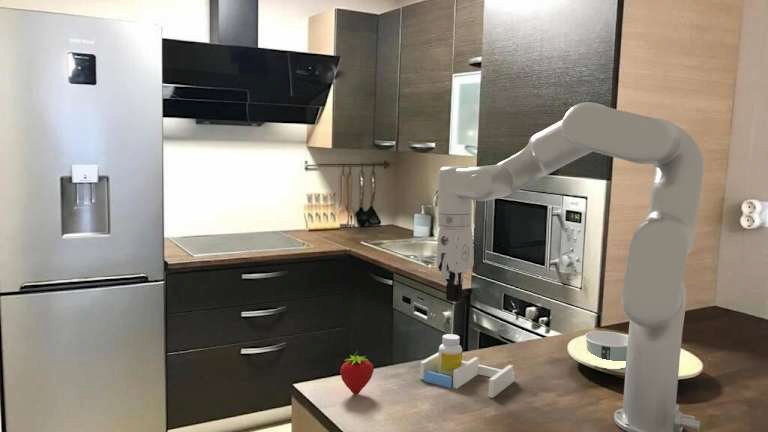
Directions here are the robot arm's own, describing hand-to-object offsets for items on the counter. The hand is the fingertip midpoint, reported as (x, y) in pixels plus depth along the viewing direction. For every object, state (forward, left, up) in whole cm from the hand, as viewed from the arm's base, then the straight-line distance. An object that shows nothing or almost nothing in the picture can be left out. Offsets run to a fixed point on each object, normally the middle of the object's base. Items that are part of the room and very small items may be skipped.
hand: (454, 300), depth 148 cm
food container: (-27, -33, -19) cm, 46 cm away
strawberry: (+12, +21, -19) cm, 31 cm away
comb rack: (-4, 0, -19) cm, 19 cm away
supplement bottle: (0, 0, -19) cm, 19 cm away
